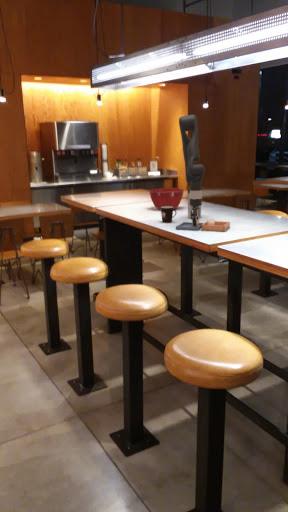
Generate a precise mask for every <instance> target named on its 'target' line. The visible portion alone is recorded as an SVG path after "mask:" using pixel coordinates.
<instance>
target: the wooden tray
mask: <svg viewBox="0 0 288 512" xmlns="http://www.w3.org/2000/svg"><path fill="white" fill-rule="evenodd" d="M203 223H204V224H202V228H201V231H202V232H218V233H219V232H220V233H225V232H226V231H228V229H229V228H231V226H230V225H231V222H230V221H218V220H217V221H216V220H215V225H207V221H205V222H203Z"/></svg>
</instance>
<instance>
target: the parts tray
mask: <svg viewBox="0 0 288 512" xmlns="http://www.w3.org/2000/svg"><path fill="white" fill-rule="evenodd" d="M204 223H205V222H199V227H192V221H191V222H190V221H189V222H188V221H183V222H181V223H179V224H177V225H175V230H178V231H194V232H195V231H197V232H198V231H199V230H202V224H204Z"/></svg>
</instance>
